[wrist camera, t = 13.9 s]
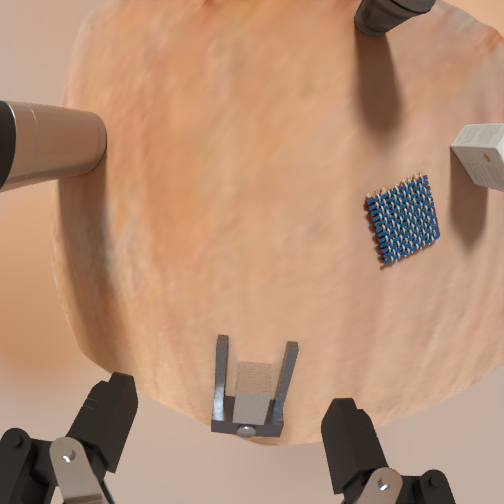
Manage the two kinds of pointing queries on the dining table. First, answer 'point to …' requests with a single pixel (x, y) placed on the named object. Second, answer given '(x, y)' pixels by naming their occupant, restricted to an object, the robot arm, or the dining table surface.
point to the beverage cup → (387, 14)
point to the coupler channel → (225, 404)
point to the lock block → (252, 393)
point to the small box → (482, 153)
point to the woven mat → (403, 217)
